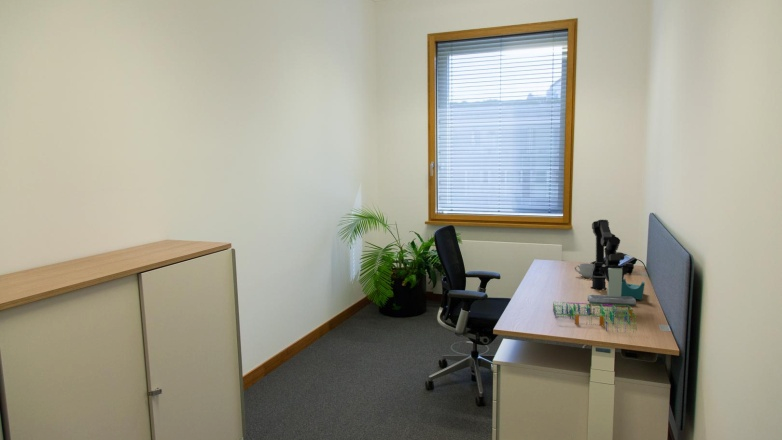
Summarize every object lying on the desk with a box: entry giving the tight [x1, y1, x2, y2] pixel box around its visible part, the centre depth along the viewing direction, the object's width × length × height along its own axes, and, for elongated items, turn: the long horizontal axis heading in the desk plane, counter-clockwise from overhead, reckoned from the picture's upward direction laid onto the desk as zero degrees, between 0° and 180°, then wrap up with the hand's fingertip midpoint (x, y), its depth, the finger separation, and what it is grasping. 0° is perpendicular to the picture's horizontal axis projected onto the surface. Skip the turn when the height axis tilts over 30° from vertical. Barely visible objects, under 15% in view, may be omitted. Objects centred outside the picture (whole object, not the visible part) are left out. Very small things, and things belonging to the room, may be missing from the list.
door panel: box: [606, 268, 622, 297], centre depth 251 cm, size 6×3×14 cm, turn 78°
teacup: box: [573, 262, 594, 279], centre depth 321 cm, size 14×11×8 cm
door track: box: [587, 294, 637, 307], centre depth 258 cm, size 22×8×3 cm, turn 78°
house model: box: [552, 301, 638, 334], centre depth 228 cm, size 35×30×5 cm
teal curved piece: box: [621, 278, 645, 301], centre depth 271 cm, size 18×11×10 cm, turn 151°
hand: (615, 281), depth 250 cm, fingers closed on door panel, 6 cm apart
